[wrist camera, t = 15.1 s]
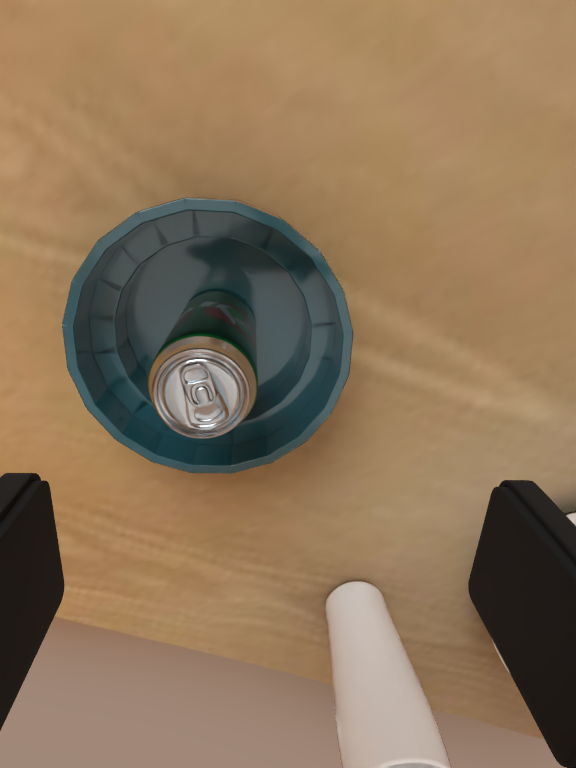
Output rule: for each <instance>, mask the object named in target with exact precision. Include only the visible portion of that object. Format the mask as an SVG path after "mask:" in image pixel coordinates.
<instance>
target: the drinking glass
mask: <svg viewBox="0 0 576 768" xmlns="http://www.w3.org/2000/svg"><path fill="white" fill-rule="evenodd" d="M325 613H326V619H327V624H328V633H329V644H330V656H331V668H332V680H333V693H334V706H335V716H336V717H335V718H336V728H337V736H338V745H339V752H340V757H341V764H342V768H451V765H450V761H449V758H448V755H447V752H446V748H445V745H444V743H443V740H442V736H441V734H440V731H439V728H438V725H437V723H436V720H435V717H434V715H433V712H432V710H431V707H430V705H429V702H428V700H427V698H426V695H425V693H424V691H423V689H422V686H421V684H420V682H419V680H418V677H417V675H416V673H415V671H414V668H413V666H412V664H411V662H410V660H409V657H408V655H407V653H406V651H405V648H404V646H403V644H402V642H401V639H400V637H399V635H398V632H397V630H396V628H395V626H394V623H393V621H392V619H391V616H390V614H389V611H388V608H387V605H386V602H385V600H384V597H383V595H382V593H381V592H380V591H379V590H378V589H377V588H376V587H375V586H373V585H372V584H369V583H366V582H362V581H353V582H348V583H345V584H342V585H340V586H339V587H337V588H336V589H335V590H333V591H332V593H331V594H330V595H329V597H328V599H327V601H326V605H325Z"/></svg>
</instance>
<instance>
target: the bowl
mask: <svg viewBox="0 0 576 768" xmlns="http://www.w3.org/2000/svg"><path fill="white" fill-rule="evenodd" d="M211 291H221V292H226V293H230V294H232V295H234V296H236V297H238V298H239V299H241V300H242V301H243V302H244V303H245V304H246V305H247V306H248V307H249V309H250V310H251V312H252V314H253V316H254V319H255V324H256V343H257V372H258V393H257V398H256V401H255V404H254V406H253V408H252V410H251V412H250V413H249V414H248V416H247V417H246V418H245V419H244V420H243V421H242V422H241V423H240V424H238V425H237V426H235V427H234V428H233V429H231V430H230V431H229V432H227V433H225V434H223V435H220V436H217V437H212V438H192V437H188V436H185V435H182V434H180V433H178V432H176V431H174V430H173V429H171V428H170V427H169V426H168V425H166V424H165V422H164V421H163V420H162V419H161V418H160V416H159V415H158V413H157V411H156V409H155V407H154V405H153V403H152V401H151V399H150V395H149V391H148V375H149V370H150V367H151V365H152V362H153V360H154V358H155V357H156V355H157V353H158V352H159V350H160V348H161V347H162V345H163V343H164V342H165V340H166V338H167V337H168V335H169V333H170V332H171V330H172V328H173V327H174V325H175V323H176V322H177V320H178V318H179V317H180V315H181V313H182V312H183V310H184V308H185V307H186V305H187V304H188V303H189V302H190V301H191V300H192V299H194V298H195V297H197V296H199V295H200V294H203V293H206V292H211ZM62 324H63V325H62V328H63V336H64V344H65V352H66V360H67V368H68V371H69V373H70V375H71V377H72V379H73V381H74V383H75V385H76V387H77V390H78V392H79V394H80V396H81V398H82V400H83V402H84V404H85V406H86V408H87V409H88V411H89V412H90V413H91V414H92V415H93V416H94V417H95V418H96V419H97V420H98V421H99V422H100V424H101V425H102V426H103V427H104V428H105V429H106V430H107V431H108V432H109V433H110V434H111V436H112V437H113V438H114V439H116V440H117V441H118V442H120V443H122V444H123V445H125V446H126V447H128V448H130V449H131V450H133V451H135V452H136V453H138V454H140V455H141V456H143V457H145V458H146V459H148V460H150V461H152V462H154V463H158V464H161V465H165V466H168V467H172V468H176V469H179V470H183V471H186V472H190V473H236V472H239V471H243V470H247V469H250V468H254V467H258V466H261V465H265V464H269V463H271V462H274V461H275V460H277V459H279V458H280V457H282V456H283V455H285V454H287V453H288V452H290V451H292V450H293V449H295V448H297V447H298V446H300V445H302V444H303V443H305V442H306V441H307V440H308V439H309V438H310V437H311V436H312V434H313V433H314V432H315V431H316V430H317V429H318V428H319V427H320V426H321V424H322V423H323V422H324V421H325V420H326V419H327V418H328V417H329V415H330V414H331V413H332V411H333V409H334V407H335V405H336V403H337V401H338V398H339V396H340V394H341V392H342V389H343V387H344V385H345V383H346V381H347V378H348V375H349V370H350V360H351V350H352V341H353V330H352V325H351V321H350V317H349V312H348V308H347V303H346V299H345V294H344V291H343V289H342V287H341V285H340V284H339V282H338V280H337V279H336V277H335V275H334V274H333V272H332V270H331V269H330V267H329V265H328V264H327V262H326V260H325V259H324V257H323V256H322V254H321V252H320V251H319V250H318V249H317V248H316V247H315V246H313V245H312V244H311V243H310V242H309V241H308V240H306V239H305V238H304V237H303V236H302V235H300V234H299V233H298V232H297V231H296V230H295V229H293V228H292V227H291V226H290V225H289V224H288V223H286V222H285V221H284V220H283V219H281V218H280V217H279V216H277V215H275V214H272V213H270V212H267V211H265V210H263V209H260V208H258V207H255V206H253V205H250V204H248V203H245V202H243V201H240V200H233V199H215V198H182V199H179V200H175V201H172V202H169V203H165V204H162V205H158V206H155V207H151V208H148V209H145V210H141V211H138V212H136V213H134V214H133V215H132V216H130V217H129V218H128V219H126V220H125V221H124V222H122V223H121V224H119V225H118V226H117V227H115V228H114V229H113V230H111V231H110V232H109V233H107V234H106V235H105V236H103V237H102V238H100V239H99V240H98V241H97V242H96V244H95V245H94V247H93V248H92V250H91V252H90V253H89V255H88V256H87V258H86V259H85V261H84V262H83V264H82V265H81V267H80V268H79V270H78V272H77V273H76V275H75V276H74V278H73V280H72V282H71V287H70V291H69V296H68V300H67V305H66V309H65V313H64V318H63V322H62Z"/></svg>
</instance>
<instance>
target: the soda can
mask: <svg viewBox="0 0 576 768" xmlns="http://www.w3.org/2000/svg"><path fill="white" fill-rule="evenodd" d="M148 391H149V395H150V399H151V401H152V403H153V405H154V407H155V409H156V411H157V413H158V415H159V416H160V418H161V419H162V420H163V421H164V422H165V424H166V425H168V426H169V427H170V428H171V429H173V430H174V431H176V432H178V433H180V434H182V435H185V436H188V437H192V438H212V437H217V436H220V435H223V434H225V433H227V432H229V431H230V430H231V429H233V428H234V427H235V426H237V425H238V424H240V423H241V422H242V421H243V420H244V419H245V418H246V417H247V416H248V414H249V413H250V412H251V410H252V408H253V406H254V404H255V401H256V398H257V393H258V372H257V343H256V324H255V319H254V316H253V314H252V312H251V310H250V309H249V307H248V306H247V305H246V304H245V303H244V302H243V301H242V300H241V299H239V298H238V297H236V296H234V295H232V294H230V293H226V292H221V291H211V292H206V293H203V294H200V295H199V296H197V297H195V298H194V299H192V300H191V301H190V302H189V303H188V304H187V305H186V307H185V308H184V310H183V312H182V313H181V315H180V317H179V318H178V320H177V322H176V323H175V325H174V327H173V328H172V330H171V332H170V333H169V335H168V337H167V338H166V340H165V342H164V343H163V345H162V347H161V348H160V350H159V352H158V353H157V355H156V357H155V358H154V360H153V362H152V365H151V367H150V370H149V375H148Z"/></svg>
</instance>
